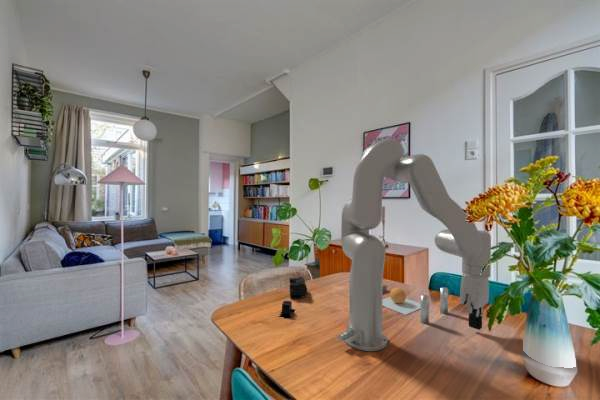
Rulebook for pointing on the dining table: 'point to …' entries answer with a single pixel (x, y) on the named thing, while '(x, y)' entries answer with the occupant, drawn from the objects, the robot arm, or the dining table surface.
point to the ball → (398, 295)
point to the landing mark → (401, 305)
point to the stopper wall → (384, 287)
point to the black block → (287, 310)
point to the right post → (444, 300)
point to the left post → (425, 309)
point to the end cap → (297, 288)
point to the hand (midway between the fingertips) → (475, 327)
